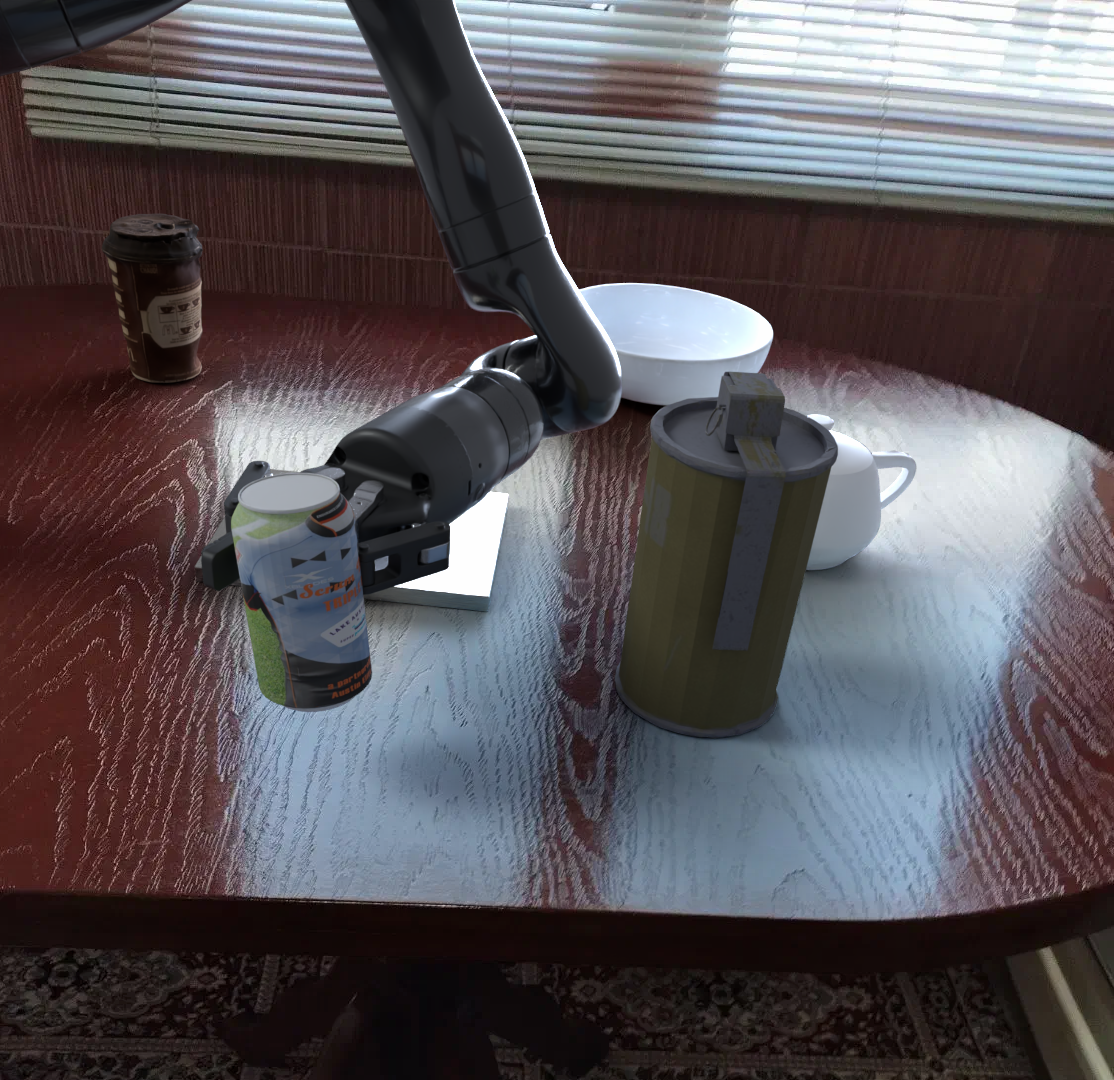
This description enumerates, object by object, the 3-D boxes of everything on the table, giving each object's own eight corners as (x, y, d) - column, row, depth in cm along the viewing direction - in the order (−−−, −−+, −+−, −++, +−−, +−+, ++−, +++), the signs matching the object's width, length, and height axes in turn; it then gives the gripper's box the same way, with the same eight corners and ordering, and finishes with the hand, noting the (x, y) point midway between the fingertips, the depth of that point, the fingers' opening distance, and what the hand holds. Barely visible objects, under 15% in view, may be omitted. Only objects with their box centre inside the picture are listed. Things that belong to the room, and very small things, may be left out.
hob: (191, 589, 81) (188, 568, 80) (258, 475, 96) (256, 456, 95) (486, 619, 81) (488, 599, 80) (509, 501, 96) (510, 483, 95)
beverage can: (334, 742, 63) (334, 538, 55) (214, 697, 64) (199, 494, 57) (393, 681, 67) (401, 486, 60) (280, 641, 69) (274, 447, 62)
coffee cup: (235, 370, 112) (224, 223, 104) (177, 397, 106) (161, 244, 98) (160, 349, 115) (143, 204, 107) (98, 374, 109) (76, 223, 101)
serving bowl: (505, 372, 118) (509, 301, 114) (652, 337, 130) (661, 272, 126) (657, 449, 106) (668, 373, 102) (803, 403, 118) (819, 333, 114)
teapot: (701, 593, 87) (725, 462, 81) (639, 514, 96) (657, 391, 90) (937, 570, 93) (977, 447, 87) (858, 498, 102) (888, 382, 96)
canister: (606, 642, 80) (646, 346, 68) (758, 647, 82) (823, 357, 70) (624, 741, 72) (673, 422, 60) (794, 746, 73) (876, 434, 61)
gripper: (324, 376, 73) (118, 477, 60) (529, 439, 68) (354, 561, 56) (327, 490, 77) (136, 605, 65) (519, 555, 73) (355, 692, 60)
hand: (239, 584), depth 60 cm, fingers closed on beverage can, 3 cm apart
